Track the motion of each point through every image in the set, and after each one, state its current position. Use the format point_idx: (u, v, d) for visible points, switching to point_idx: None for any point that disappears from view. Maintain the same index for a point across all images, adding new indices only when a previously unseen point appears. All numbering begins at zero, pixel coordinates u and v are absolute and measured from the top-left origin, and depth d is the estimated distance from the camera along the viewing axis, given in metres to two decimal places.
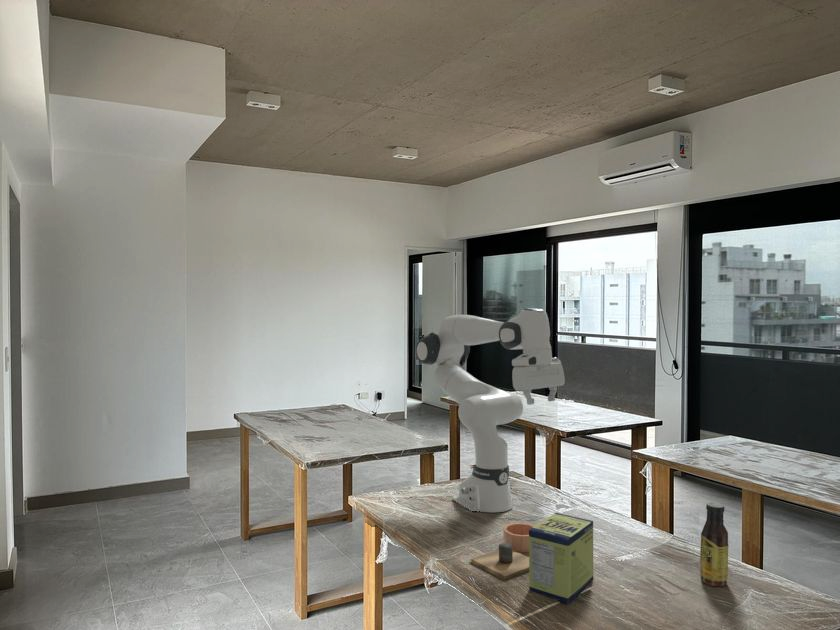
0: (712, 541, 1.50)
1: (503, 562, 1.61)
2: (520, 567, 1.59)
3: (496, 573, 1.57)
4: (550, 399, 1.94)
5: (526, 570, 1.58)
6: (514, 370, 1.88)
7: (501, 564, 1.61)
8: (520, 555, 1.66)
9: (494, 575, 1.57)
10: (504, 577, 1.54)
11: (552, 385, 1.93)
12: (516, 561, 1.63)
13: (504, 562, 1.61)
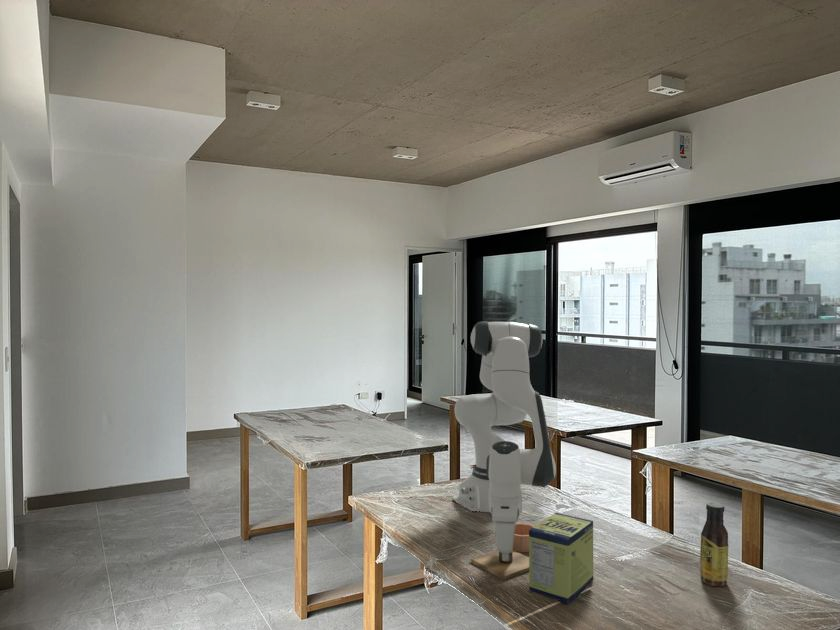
0: (712, 541, 1.50)
1: (503, 562, 1.61)
2: (520, 567, 1.59)
3: (496, 573, 1.57)
4: None
5: (526, 570, 1.59)
6: (499, 528, 1.54)
7: (501, 564, 1.61)
8: (520, 555, 1.66)
9: (494, 575, 1.57)
10: (504, 577, 1.54)
11: None
12: (516, 561, 1.63)
13: (504, 562, 1.61)
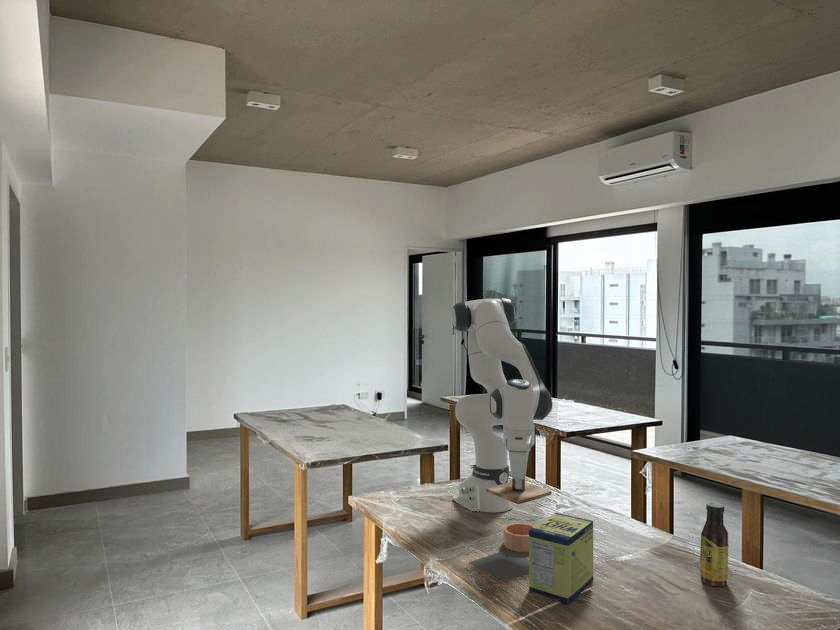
0: (712, 541, 1.50)
1: (516, 490, 1.73)
2: (532, 494, 1.71)
3: (510, 499, 1.68)
4: None
5: (538, 497, 1.70)
6: (513, 456, 1.65)
7: (514, 492, 1.73)
8: (532, 485, 1.78)
9: (494, 575, 1.57)
10: (517, 502, 1.66)
11: None
12: (528, 490, 1.74)
13: (517, 490, 1.73)
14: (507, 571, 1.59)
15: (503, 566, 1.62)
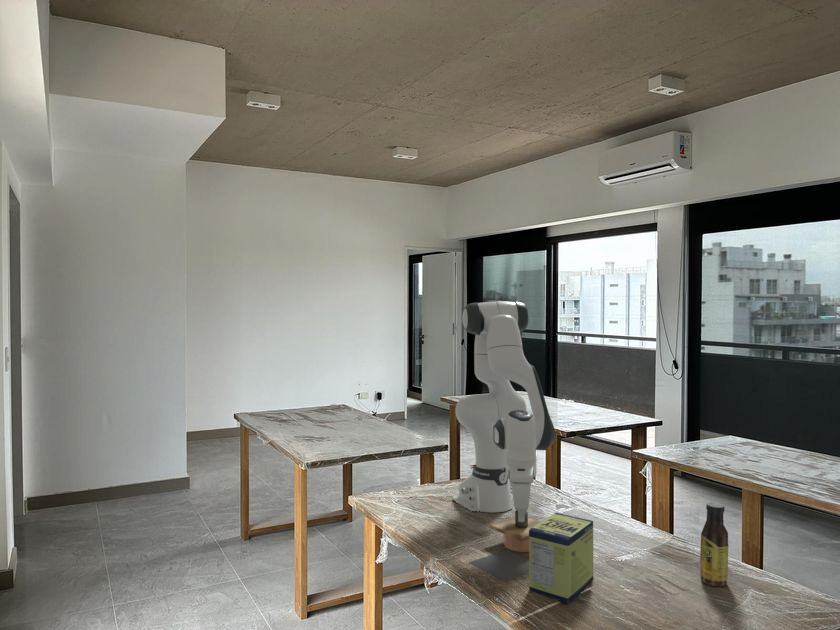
0: (712, 541, 1.50)
1: (519, 527, 1.75)
2: None
3: (513, 536, 1.70)
4: None
5: None
6: (516, 488, 1.67)
7: (517, 528, 1.74)
8: (534, 521, 1.80)
9: (494, 575, 1.57)
10: (521, 539, 1.68)
11: None
12: (531, 526, 1.76)
13: (520, 527, 1.75)
14: (507, 571, 1.59)
15: (503, 566, 1.62)
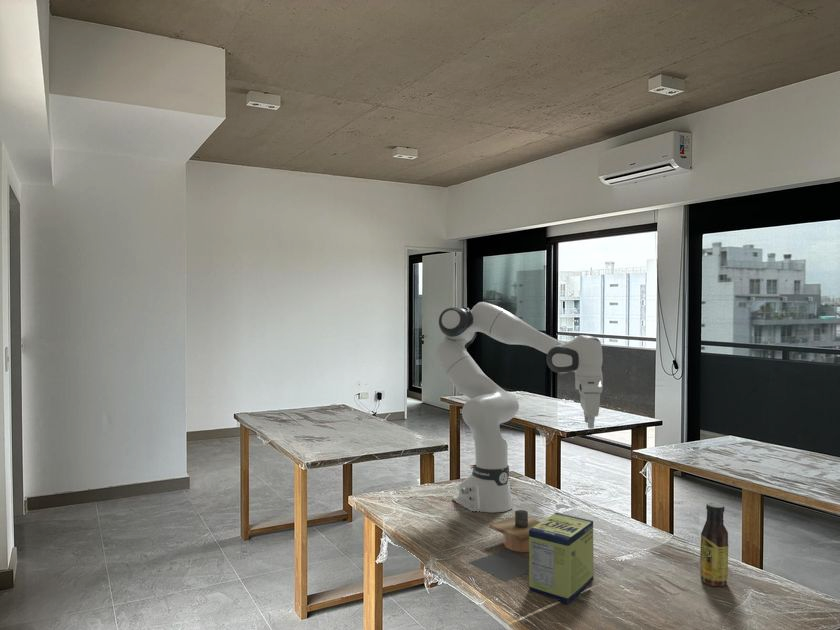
0: (712, 541, 1.50)
1: (519, 527, 1.75)
2: None
3: (513, 536, 1.70)
4: (588, 421, 2.08)
5: None
6: (587, 397, 1.95)
7: (517, 528, 1.74)
8: (534, 521, 1.80)
9: (494, 575, 1.57)
10: (521, 539, 1.68)
11: None
12: (531, 526, 1.76)
13: (520, 527, 1.75)
14: (507, 571, 1.59)
15: (503, 566, 1.62)
